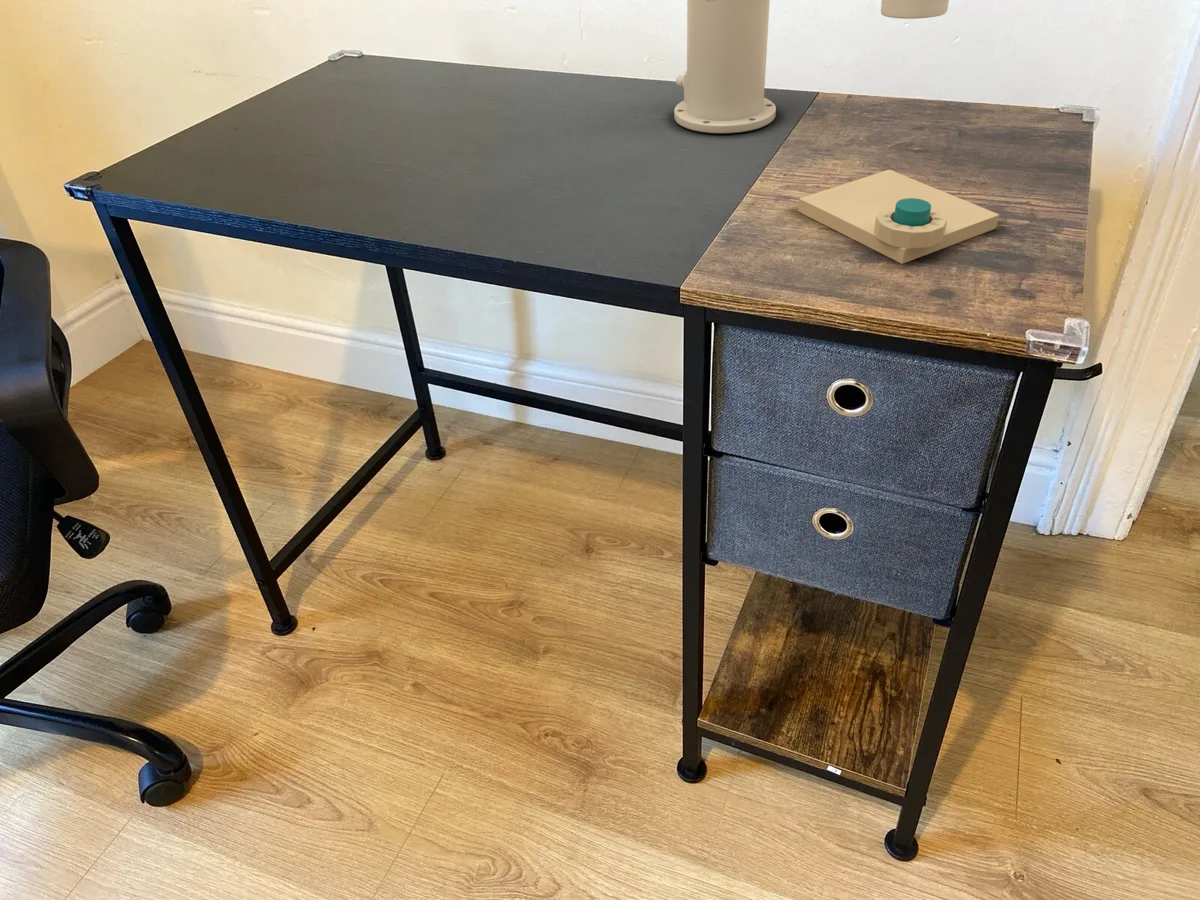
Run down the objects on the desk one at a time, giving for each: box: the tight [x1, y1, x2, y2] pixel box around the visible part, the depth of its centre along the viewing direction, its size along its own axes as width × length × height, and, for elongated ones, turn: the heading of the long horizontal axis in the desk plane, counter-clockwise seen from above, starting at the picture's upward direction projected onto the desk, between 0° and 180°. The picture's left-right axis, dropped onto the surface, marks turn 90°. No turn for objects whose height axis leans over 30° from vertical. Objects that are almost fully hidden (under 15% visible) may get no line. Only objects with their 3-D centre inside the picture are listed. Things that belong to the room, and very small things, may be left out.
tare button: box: [893, 198, 931, 227], centre depth 78 cm, size 3×3×2 cm
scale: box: [797, 169, 1000, 265], centre depth 83 cm, size 15×12×3 cm
